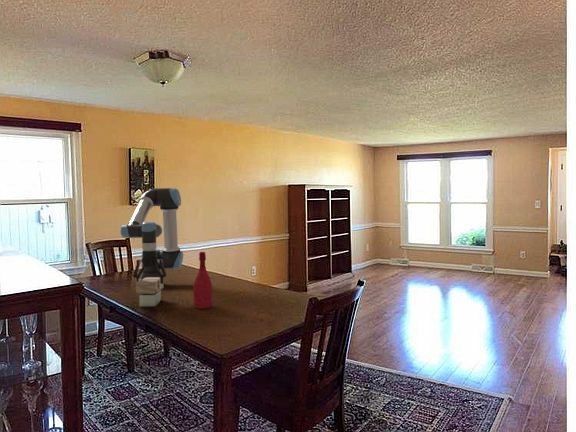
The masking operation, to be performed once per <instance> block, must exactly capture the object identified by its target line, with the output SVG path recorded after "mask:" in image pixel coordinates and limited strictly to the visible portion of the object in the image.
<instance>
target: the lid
mask: <svg viewBox="0 0 576 432" xmlns="http://www.w3.org/2000/svg"><path fill="white" fill-rule="evenodd" d="M159 278H160V277H146V278H144V279H142V280H140V281H138V282H137V281H135V282H136V283H135V293H136V294H155V293H156V292H158V291H159ZM164 278H165V277H163V284H162V289H164V287H165V286H164V285H165V283H164Z"/></svg>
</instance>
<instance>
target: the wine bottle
mask: <svg viewBox="0 0 576 432" xmlns="http://www.w3.org/2000/svg"><path fill="white" fill-rule="evenodd" d="M198 255H199V257H198V260H199V269H198V272H197V274H196V277H195V279H194V283H193V306H194V308H195V309H197V310H207V309H210V308H212V306H213V283H212V281H211V278H210V276H209V274H208V272H207V268H206V260H207V256H206V252H204V251H200V252H199V254H198Z"/></svg>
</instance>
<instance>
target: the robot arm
mask: <svg viewBox="0 0 576 432" xmlns="http://www.w3.org/2000/svg"><path fill="white" fill-rule="evenodd" d="M181 205H182V198H181V193H180V191H179V190H178V189H177V188H174V187H173V188H172V187H166V188H165V187H163V188H150V189H148V190H146V191H145V192H143V193H142V194H141V195H140V196H139V199H138V201H137V206H136V208H135V210H134V212H133V214H132V216H131V217H130V219H129V222H128V223H127V224H123V225H121V227H120V236H121V237H122V238H125V239H127V238H128V239H137V238H139V239H141V246H142V247H141V249H142V252H141V253H142V254H141V259H137V260H136V262H135V263H136V265H135V269H134V271H133V272H134V273H133V275H132V277H133V278H134V279H136V282H138V281H140V280H142V279H144V278H146V277H160V278H159V290H162V289H163V288H162V284H163V277H164V278H165V277H167V272H166V270H177V269H181V267H182V264H183V261H184V252H183V251H182V250H181V248H180V247H179V246H178V244H179V243H178V221H177V220H178V218H177V211H178V209H179V207H181ZM153 207H160V208H159V210H160V211H161V212H162V224H163V228H162V225H160V224H157V223H156V222H155V221H154V222H153V221H149V222H147V221H146V222H145V220H146V217H147V215H148V214H149V212H150V210H152V209H153ZM162 233H163V245H164V247H163V248H162V249H159V248H158V249H157V238H158V237H160V236H161V235H162ZM140 265H141V269H140ZM139 269H140V271H139Z"/></svg>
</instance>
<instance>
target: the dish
mask: <svg viewBox="0 0 576 432" xmlns="http://www.w3.org/2000/svg"><path fill="white" fill-rule="evenodd" d="M161 290H162V289H161ZM161 290H159V291H158V292H156V293H155V294H140V295H139V296H138V297H139V298H138V299H139V307H157V305H158V304H159V303H160V301H161V300H162V291H161Z"/></svg>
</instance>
